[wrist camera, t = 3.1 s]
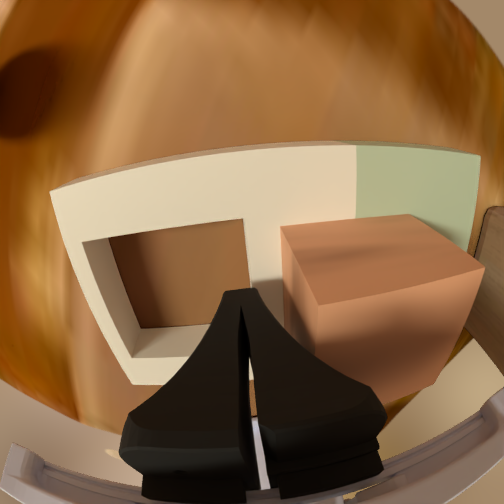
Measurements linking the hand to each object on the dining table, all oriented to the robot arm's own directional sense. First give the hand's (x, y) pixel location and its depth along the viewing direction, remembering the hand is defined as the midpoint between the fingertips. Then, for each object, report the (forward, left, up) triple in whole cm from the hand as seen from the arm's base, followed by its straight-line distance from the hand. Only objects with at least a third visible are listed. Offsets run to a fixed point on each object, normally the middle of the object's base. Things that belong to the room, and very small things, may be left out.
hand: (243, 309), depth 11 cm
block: (0, -5, -1) cm, 5 cm away
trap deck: (0, -3, -3) cm, 4 cm away
